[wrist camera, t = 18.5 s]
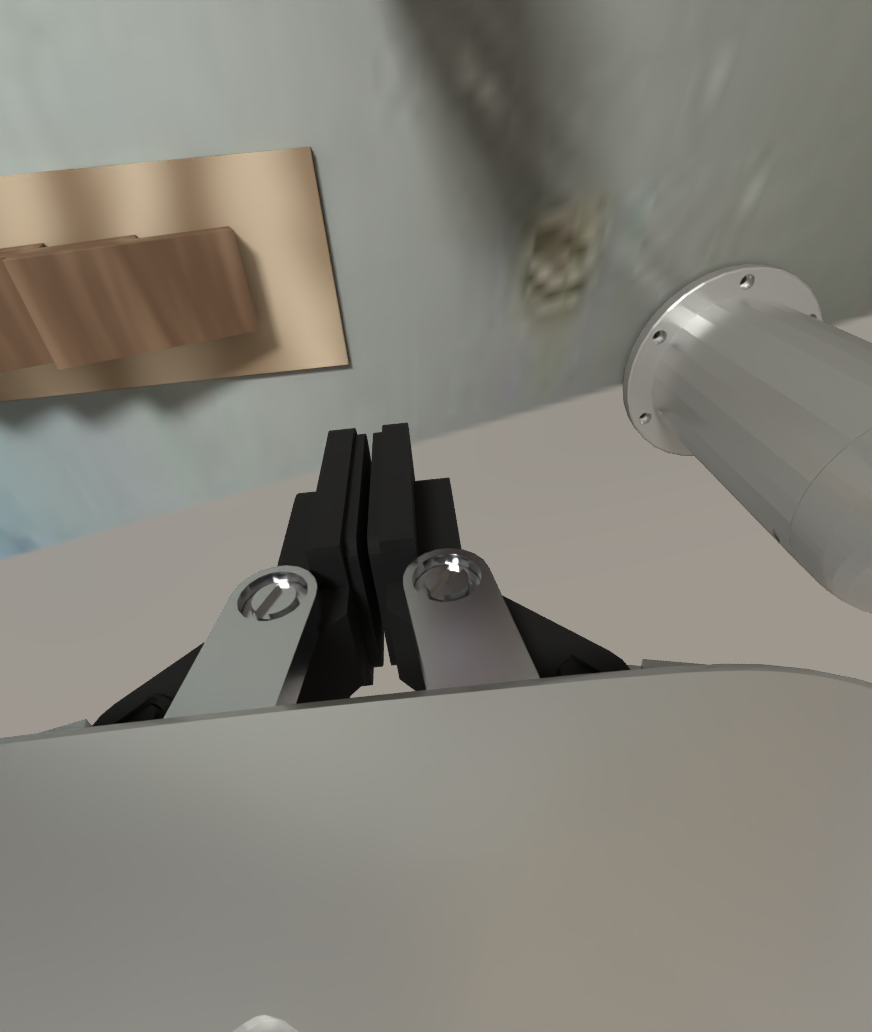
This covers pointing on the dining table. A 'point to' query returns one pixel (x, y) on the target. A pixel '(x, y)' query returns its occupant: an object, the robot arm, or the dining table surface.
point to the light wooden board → (181, 208)
